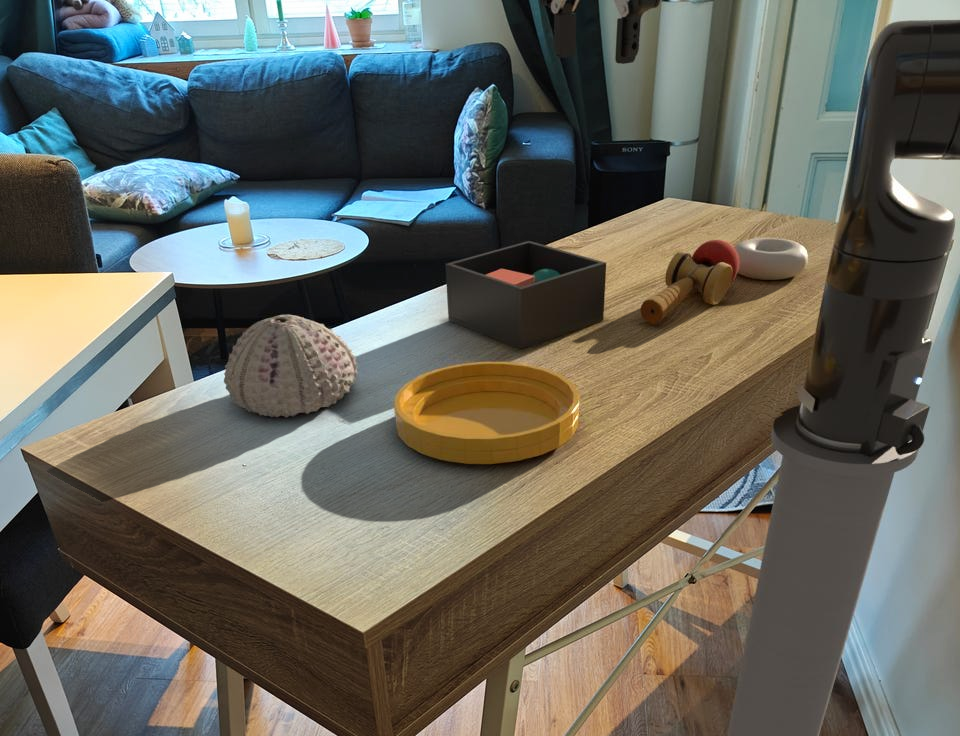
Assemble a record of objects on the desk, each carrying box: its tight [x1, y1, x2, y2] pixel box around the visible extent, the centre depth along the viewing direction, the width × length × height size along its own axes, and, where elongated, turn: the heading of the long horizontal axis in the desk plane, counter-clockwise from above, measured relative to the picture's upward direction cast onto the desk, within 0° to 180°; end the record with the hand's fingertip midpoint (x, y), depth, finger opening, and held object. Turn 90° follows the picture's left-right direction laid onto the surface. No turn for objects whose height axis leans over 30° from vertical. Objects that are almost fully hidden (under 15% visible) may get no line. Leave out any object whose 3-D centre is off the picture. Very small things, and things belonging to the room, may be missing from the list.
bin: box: [444, 240, 607, 350], centre depth 105 cm, size 13×13×7 cm
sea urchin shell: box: [223, 314, 359, 418], centre depth 89 cm, size 13×14×8 cm
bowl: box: [393, 361, 580, 465], centre depth 84 cm, size 17×17×3 cm
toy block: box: [486, 269, 535, 287], centre depth 104 cm, size 5×5×5 cm
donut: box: [733, 237, 809, 281], centre depth 117 cm, size 10×4×10 cm
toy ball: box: [533, 269, 560, 283], centre depth 106 cm, size 5×5×5 cm
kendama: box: [640, 239, 739, 326], centre depth 108 cm, size 8×6×18 cm
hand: (594, 59), depth 91 cm, fingers open, 8 cm apart
